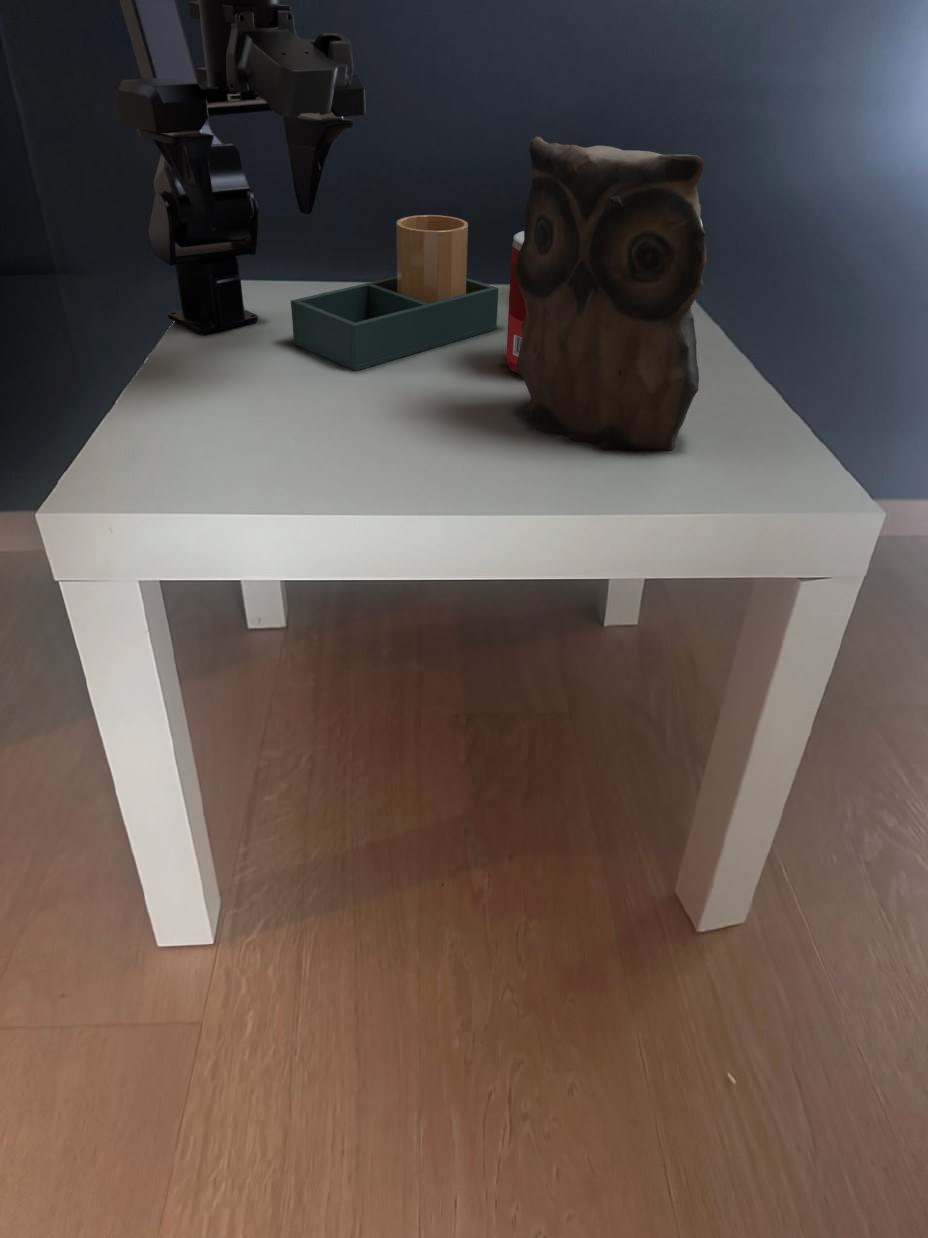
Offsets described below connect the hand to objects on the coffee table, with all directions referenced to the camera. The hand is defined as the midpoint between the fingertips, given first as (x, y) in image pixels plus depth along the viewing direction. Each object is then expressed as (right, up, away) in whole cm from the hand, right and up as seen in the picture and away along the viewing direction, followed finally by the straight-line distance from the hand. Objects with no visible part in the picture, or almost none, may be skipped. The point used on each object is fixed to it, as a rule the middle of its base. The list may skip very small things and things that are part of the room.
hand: (259, 221), depth 74 cm
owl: (+28, -16, 0) cm, 33 cm away
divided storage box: (+10, -5, +14) cm, 18 cm away
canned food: (+24, -10, +9) cm, 27 cm away
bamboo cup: (+13, -3, +16) cm, 21 cm away
